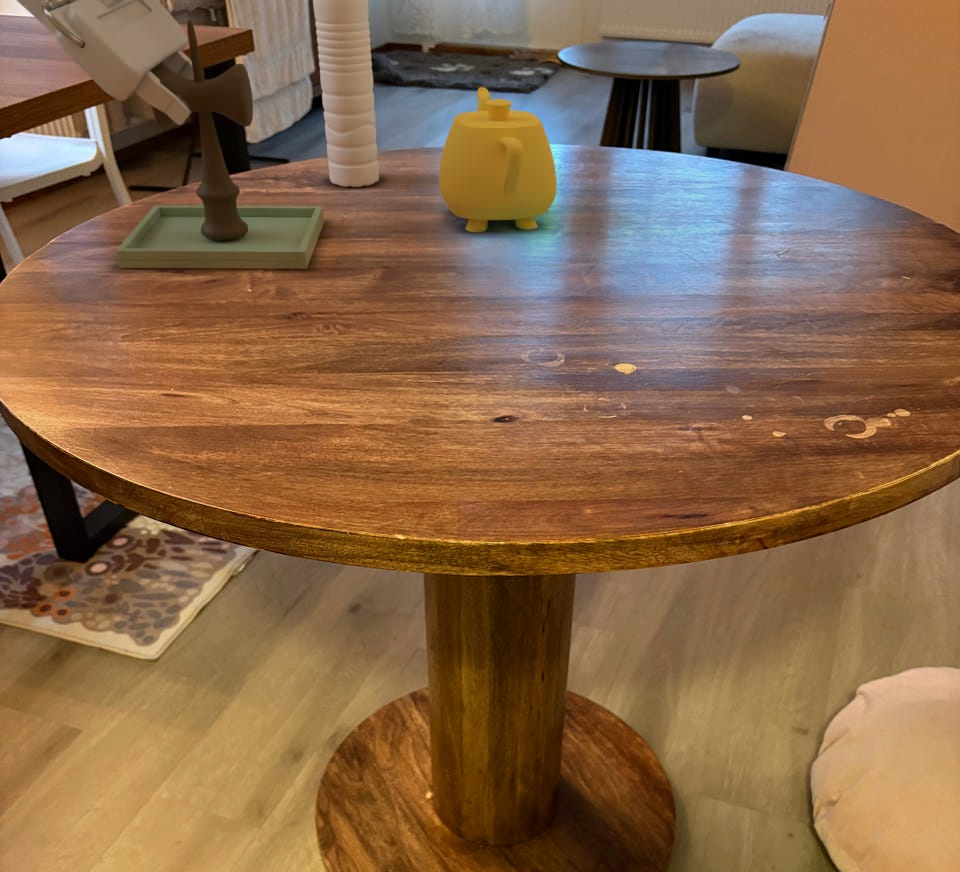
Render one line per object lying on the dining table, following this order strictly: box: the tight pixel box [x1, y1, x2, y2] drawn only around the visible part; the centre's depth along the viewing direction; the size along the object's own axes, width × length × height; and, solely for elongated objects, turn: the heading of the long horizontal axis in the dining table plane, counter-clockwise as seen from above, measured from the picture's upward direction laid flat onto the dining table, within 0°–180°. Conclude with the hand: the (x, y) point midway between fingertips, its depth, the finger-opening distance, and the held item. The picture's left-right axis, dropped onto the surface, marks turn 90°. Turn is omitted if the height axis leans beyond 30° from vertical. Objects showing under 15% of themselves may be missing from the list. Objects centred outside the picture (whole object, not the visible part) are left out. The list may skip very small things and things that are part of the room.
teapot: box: [438, 86, 558, 233], centre depth 105 cm, size 13×20×12 cm
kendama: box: [150, 19, 254, 241], centre depth 94 cm, size 6×10×20 cm, turn 93°
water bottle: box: [312, 0, 380, 188], centre depth 112 cm, size 9×6×25 cm
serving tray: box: [115, 204, 325, 270], centre depth 101 cm, size 20×16×2 cm
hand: (198, 107), depth 93 cm, fingers open, 8 cm apart
